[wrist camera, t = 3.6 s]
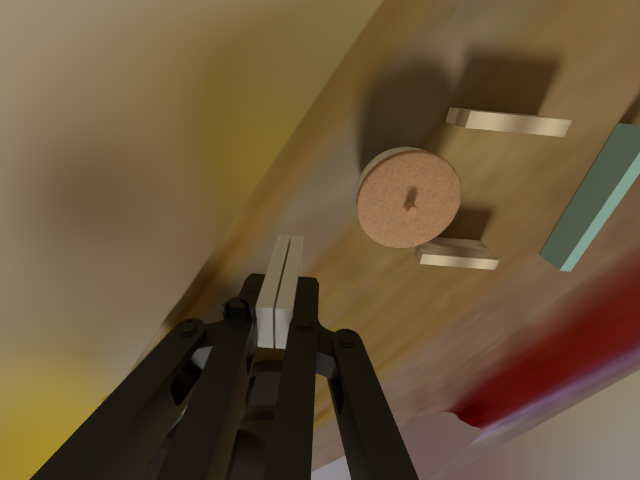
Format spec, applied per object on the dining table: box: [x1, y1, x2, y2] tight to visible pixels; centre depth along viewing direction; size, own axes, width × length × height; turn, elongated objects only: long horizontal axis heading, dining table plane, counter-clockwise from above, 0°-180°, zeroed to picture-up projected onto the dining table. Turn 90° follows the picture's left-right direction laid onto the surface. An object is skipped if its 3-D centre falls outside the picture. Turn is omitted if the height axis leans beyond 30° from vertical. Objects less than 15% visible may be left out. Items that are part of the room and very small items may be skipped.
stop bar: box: [539, 123, 640, 271], centre depth 33 cm, size 2×18×4 cm, turn 175°
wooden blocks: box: [411, 107, 572, 270], centre depth 32 cm, size 10×18×5 cm, turn 175°
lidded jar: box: [355, 147, 461, 248], centre depth 30 cm, size 11×11×9 cm
